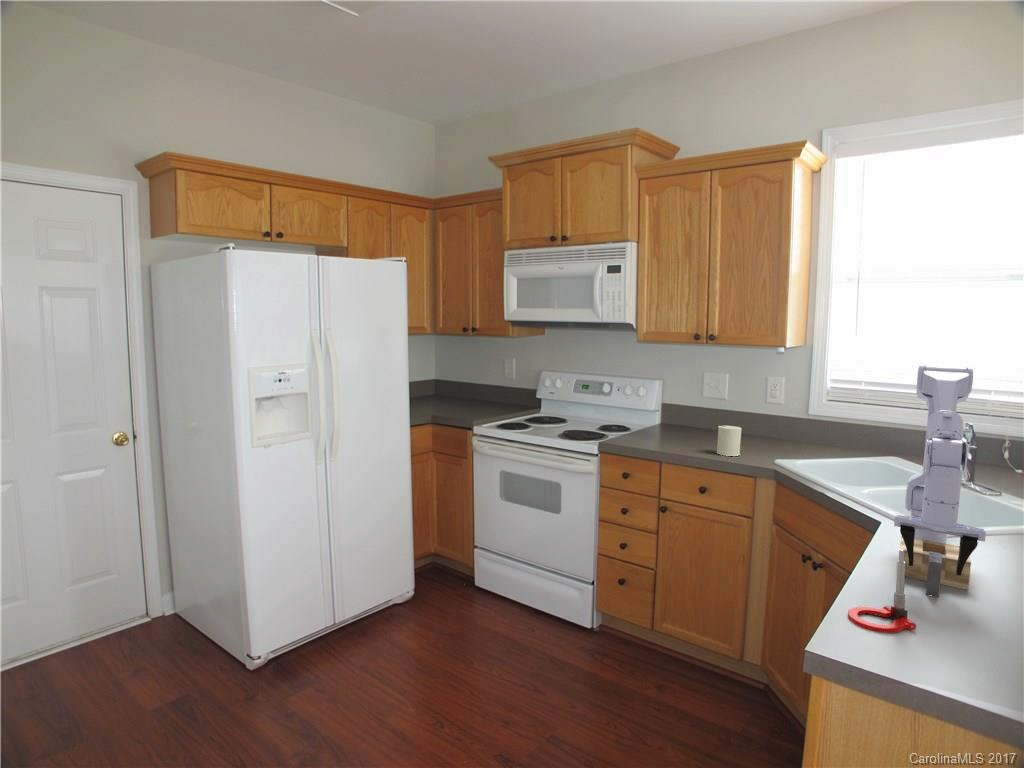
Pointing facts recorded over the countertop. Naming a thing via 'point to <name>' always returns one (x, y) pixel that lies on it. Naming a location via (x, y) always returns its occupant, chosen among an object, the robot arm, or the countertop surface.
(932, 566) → the grey flat piece
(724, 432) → the can
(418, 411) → the countertop surface
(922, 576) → the slotted wooden block
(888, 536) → the countertop surface
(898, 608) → the tow hook
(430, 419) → the countertop surface
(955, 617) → the countertop surface
